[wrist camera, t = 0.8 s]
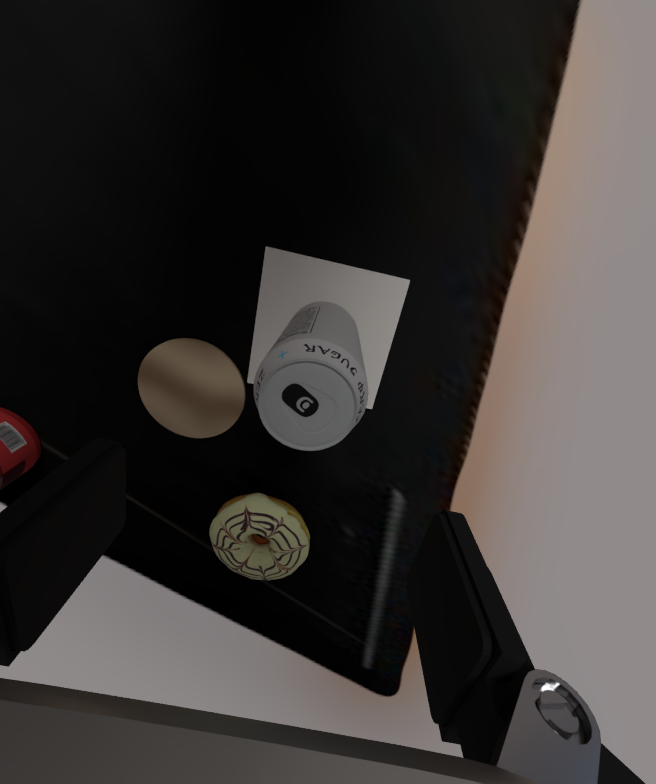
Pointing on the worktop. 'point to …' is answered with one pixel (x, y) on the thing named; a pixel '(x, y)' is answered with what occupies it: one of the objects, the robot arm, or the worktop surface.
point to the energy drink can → (313, 379)
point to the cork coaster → (191, 387)
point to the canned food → (16, 447)
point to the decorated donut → (255, 553)
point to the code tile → (329, 284)
